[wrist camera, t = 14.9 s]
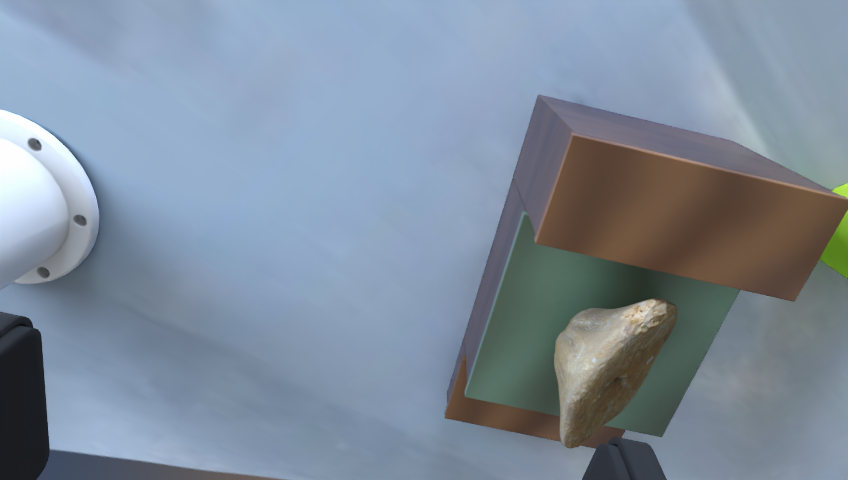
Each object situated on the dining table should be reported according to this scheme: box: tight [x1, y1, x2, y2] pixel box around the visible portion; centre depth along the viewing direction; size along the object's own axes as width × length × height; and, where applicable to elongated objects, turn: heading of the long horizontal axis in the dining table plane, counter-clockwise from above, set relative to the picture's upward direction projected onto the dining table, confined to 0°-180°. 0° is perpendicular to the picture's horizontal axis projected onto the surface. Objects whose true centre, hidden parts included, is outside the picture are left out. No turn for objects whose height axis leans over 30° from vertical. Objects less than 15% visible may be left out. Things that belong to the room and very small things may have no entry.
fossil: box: [554, 298, 678, 448], centre depth 31 cm, size 9×4×10 cm
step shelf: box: [445, 95, 848, 449], centre depth 35 cm, size 13×24×11 cm, turn 167°
